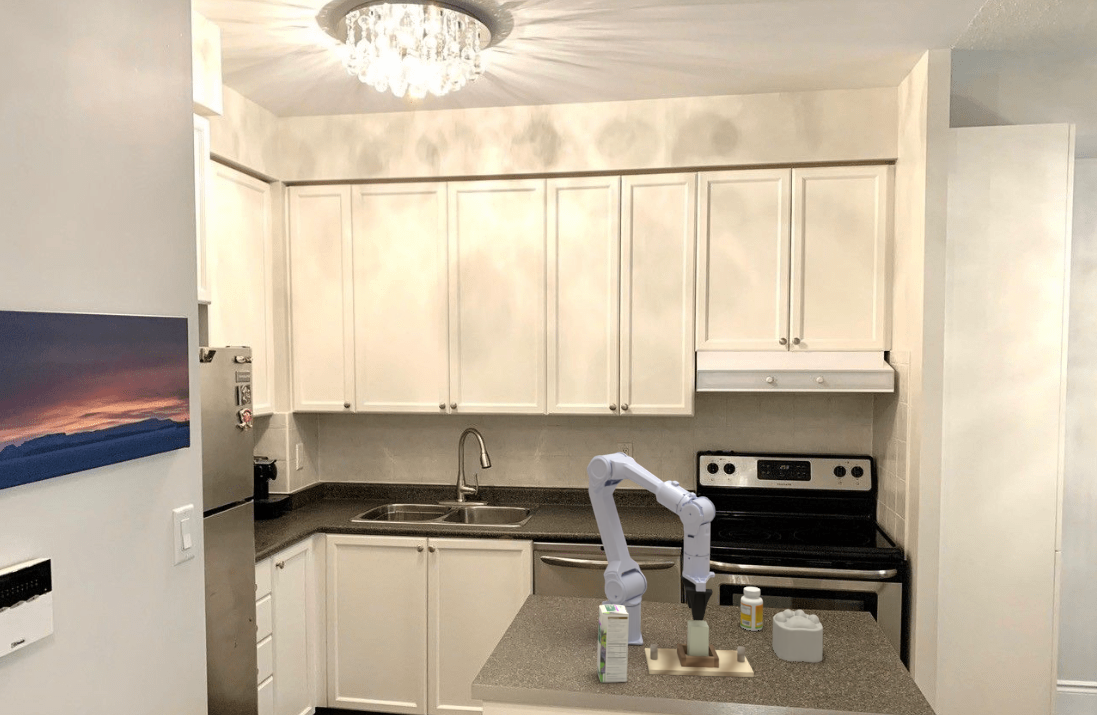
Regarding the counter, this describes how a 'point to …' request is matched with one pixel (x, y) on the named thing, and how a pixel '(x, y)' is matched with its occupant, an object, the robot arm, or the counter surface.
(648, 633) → the counter surface
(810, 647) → the lumpy-topped squat cylinder
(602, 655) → the syrup box
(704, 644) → the sage peg
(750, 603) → the supplement bottle
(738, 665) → the socket plate
